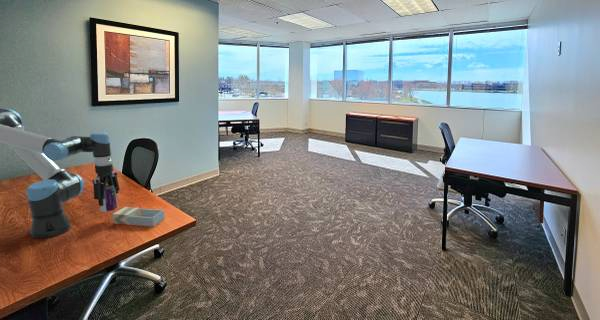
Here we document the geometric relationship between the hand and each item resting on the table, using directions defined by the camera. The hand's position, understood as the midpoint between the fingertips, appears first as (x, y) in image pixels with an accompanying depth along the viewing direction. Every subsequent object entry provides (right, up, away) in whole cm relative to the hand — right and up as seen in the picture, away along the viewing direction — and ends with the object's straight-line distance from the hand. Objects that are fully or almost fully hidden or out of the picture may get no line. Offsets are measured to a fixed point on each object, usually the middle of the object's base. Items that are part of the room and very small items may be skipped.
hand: (109, 208), depth 164 cm
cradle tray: (+20, -6, -2) cm, 21 cm away
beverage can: (0, -1, 0) cm, 1 cm away
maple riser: (+9, -6, 0) cm, 11 cm away
